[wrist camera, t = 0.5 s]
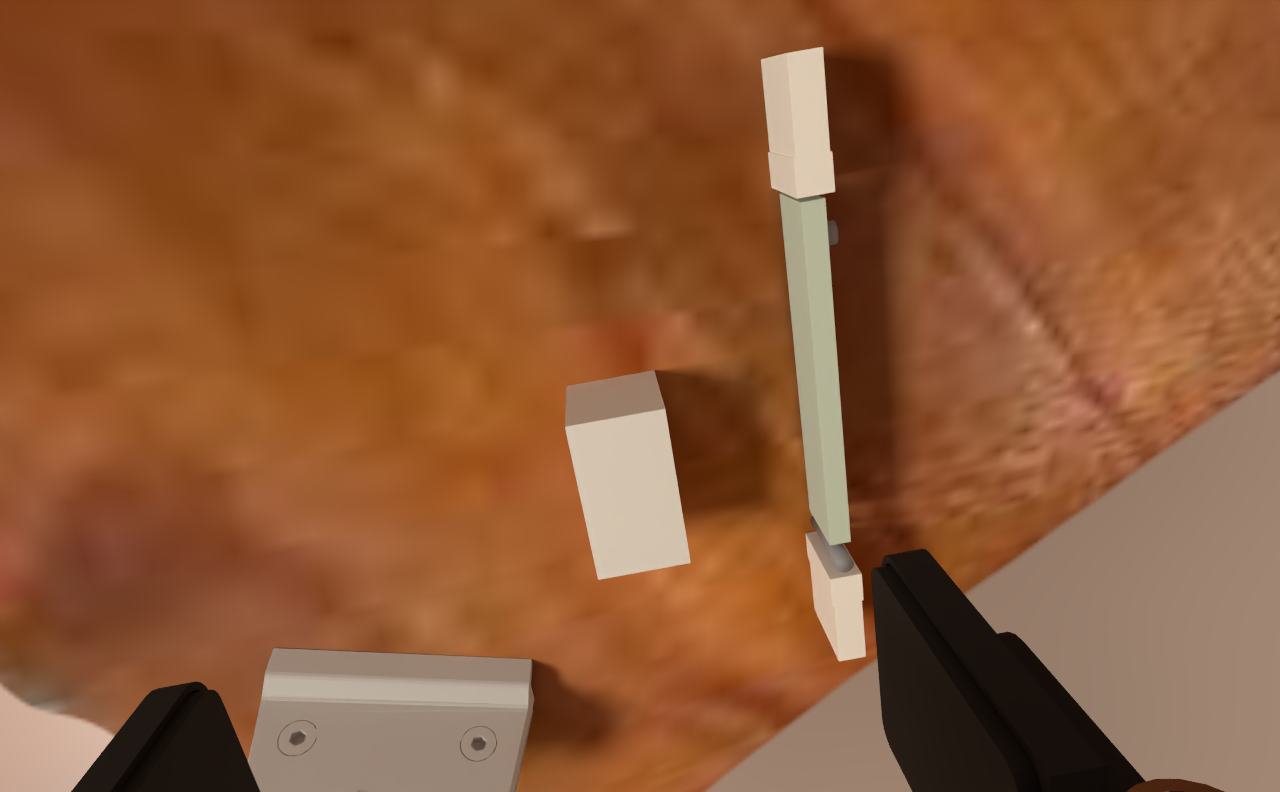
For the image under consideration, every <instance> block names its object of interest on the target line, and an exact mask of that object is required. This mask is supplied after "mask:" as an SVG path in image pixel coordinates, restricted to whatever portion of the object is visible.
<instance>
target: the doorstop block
mask: <svg viewBox="0 0 1280 792" xmlns="http://www.w3.org/2000/svg"><path fill="white" fill-rule="evenodd" d="M565 429H566V434H567V438H568V443H569V448H570V452H571V457H572V461H573V466H574V471H575V475H576V480H577V484H578V489H579V494H580V498H581V503H582V507H583V512H584V517H585V521H586V526H587V530H588V535H589V540H590V544H591V549H592V553H593V558H594V562H595V567H596V572H597V576H598V580H600V579H605V578H611V577H616V576H622V575H627V574H633V573H638V572H643V571H649V570H654V569H660V568H665V567H671V566H676V565H682V564H687V563H691V562H690V556H689V550H688V544H687V538H686V532H685V526H684V520H683V513H682V507H681V501H680V495H679V489H678V483H677V477H676V471H675V465H674V459H673V453H672V447H671V440H670V434H669V428H668V422H667V416H666V410H665V406H664V402H663V399H662V396H661V392H660V389H659V385H658V382H657V378H656V375H655V371H654V370H653V371H648V372H642V373H637V374H631V375H626V376H620V377H615V378H609V379H603V380H598V381H592V382H587V383H581V384H576V385H570V386H567V391H566V414H565Z"/></svg>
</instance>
